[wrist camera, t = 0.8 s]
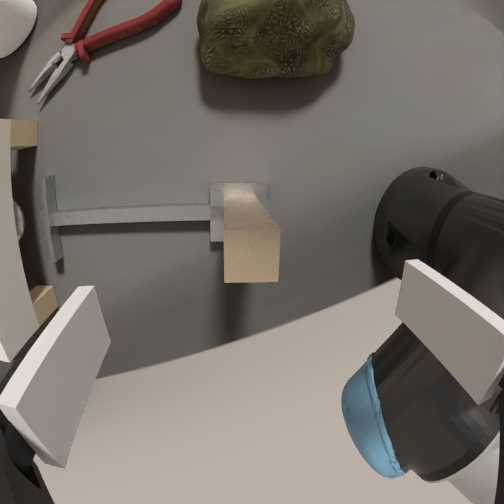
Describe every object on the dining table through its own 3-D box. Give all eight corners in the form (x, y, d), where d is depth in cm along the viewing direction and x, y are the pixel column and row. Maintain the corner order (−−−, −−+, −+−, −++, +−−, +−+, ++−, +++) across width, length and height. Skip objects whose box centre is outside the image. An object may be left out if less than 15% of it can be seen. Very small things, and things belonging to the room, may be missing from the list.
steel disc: (32, 212, 29) (27, 214, 28) (19, 250, 30) (15, 252, 29) (4, 190, 27) (0, 191, 26) (-6, 227, 29) (-10, 229, 28)
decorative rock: (319, 108, 30) (361, 106, 21) (181, 72, 26) (168, 50, 17) (347, 7, 24) (390, -20, 15) (220, -33, 21) (225, -78, 12)
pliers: (20, 76, 23) (9, 73, 20) (134, -33, 20) (129, -43, 18) (60, 126, 26) (49, 125, 24) (187, 6, 24) (185, -4, 21)
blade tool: (268, 163, 30) (307, 170, 16) (265, 254, 33) (296, 328, 19) (46, 176, 28) (-41, 198, 13) (56, 256, 31) (-16, 313, 16)
